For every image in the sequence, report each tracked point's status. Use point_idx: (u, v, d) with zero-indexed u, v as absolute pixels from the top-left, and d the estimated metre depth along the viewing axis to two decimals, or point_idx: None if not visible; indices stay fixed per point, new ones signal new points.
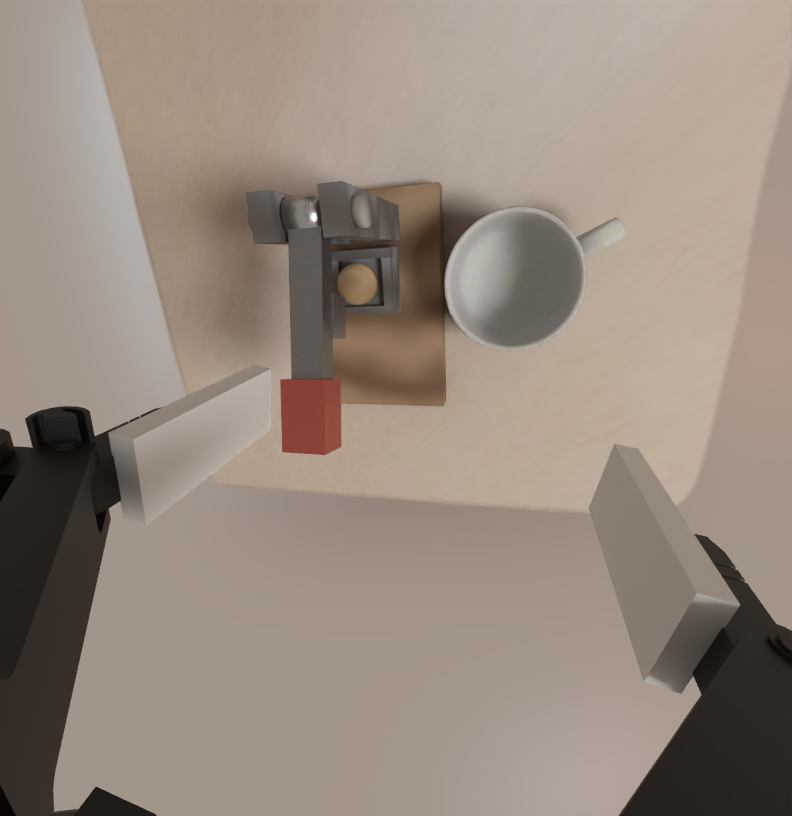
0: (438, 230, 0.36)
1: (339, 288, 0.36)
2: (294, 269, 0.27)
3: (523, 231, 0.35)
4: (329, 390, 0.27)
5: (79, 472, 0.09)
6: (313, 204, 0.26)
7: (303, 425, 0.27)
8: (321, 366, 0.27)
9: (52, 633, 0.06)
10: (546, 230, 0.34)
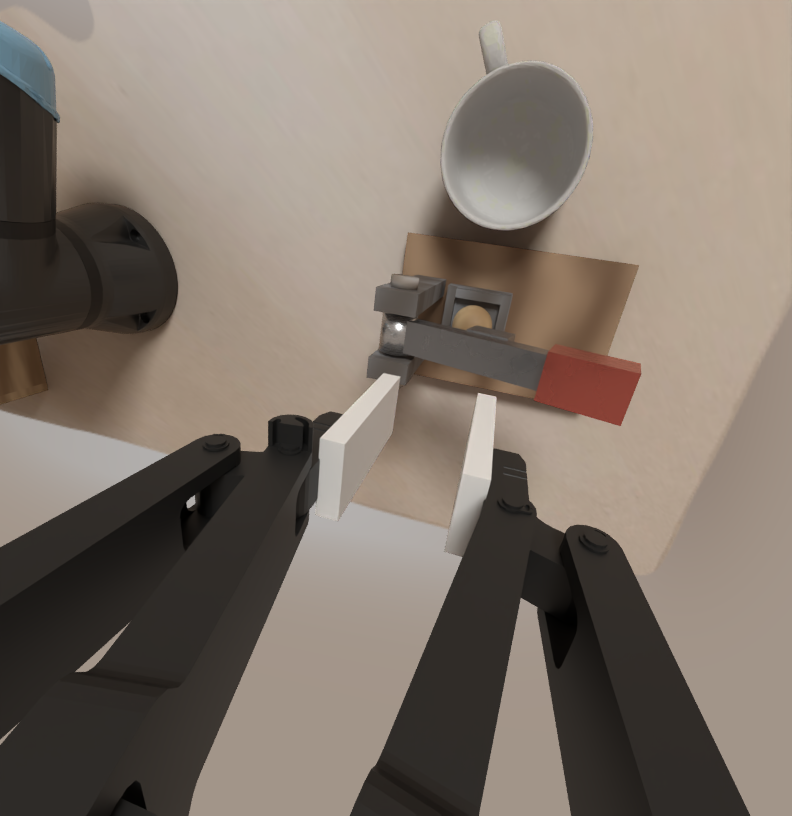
0: (447, 239, 0.38)
1: None
2: (435, 356, 0.28)
3: (470, 149, 0.35)
4: (563, 352, 0.24)
5: (292, 479, 0.10)
6: (388, 322, 0.29)
7: (594, 389, 0.23)
8: (533, 354, 0.25)
9: (230, 637, 0.07)
10: (474, 121, 0.34)
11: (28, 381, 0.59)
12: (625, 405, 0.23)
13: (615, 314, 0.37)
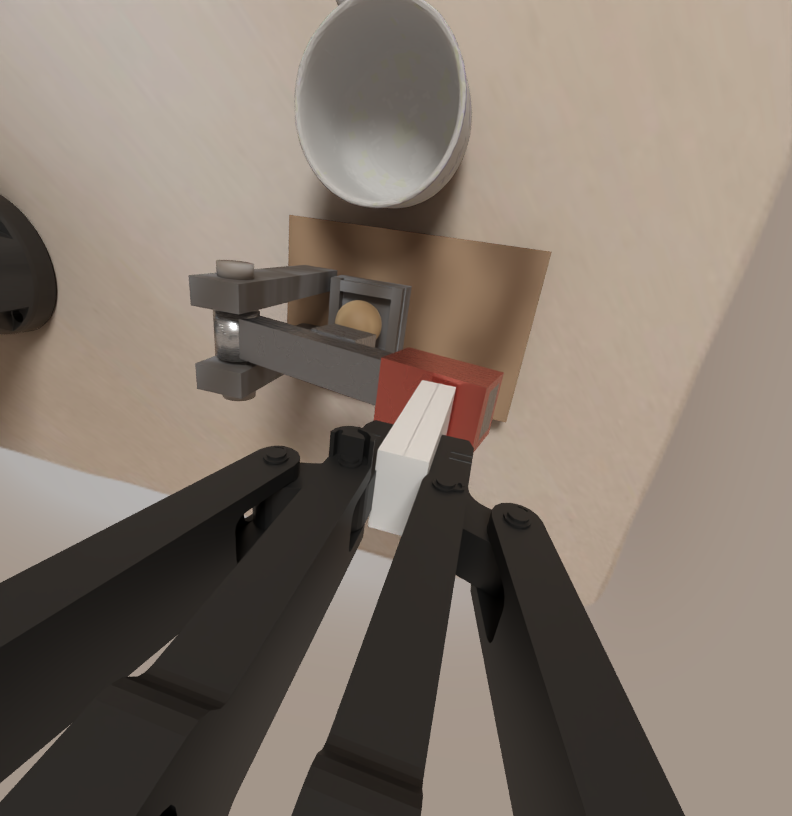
0: (333, 222, 0.32)
1: None
2: (272, 363, 0.23)
3: (350, 114, 0.30)
4: (404, 358, 0.19)
5: (349, 494, 0.09)
6: (216, 320, 0.23)
7: None
8: (373, 360, 0.19)
9: (276, 655, 0.07)
10: (348, 78, 0.28)
11: None
12: (473, 429, 0.17)
13: (528, 310, 0.31)
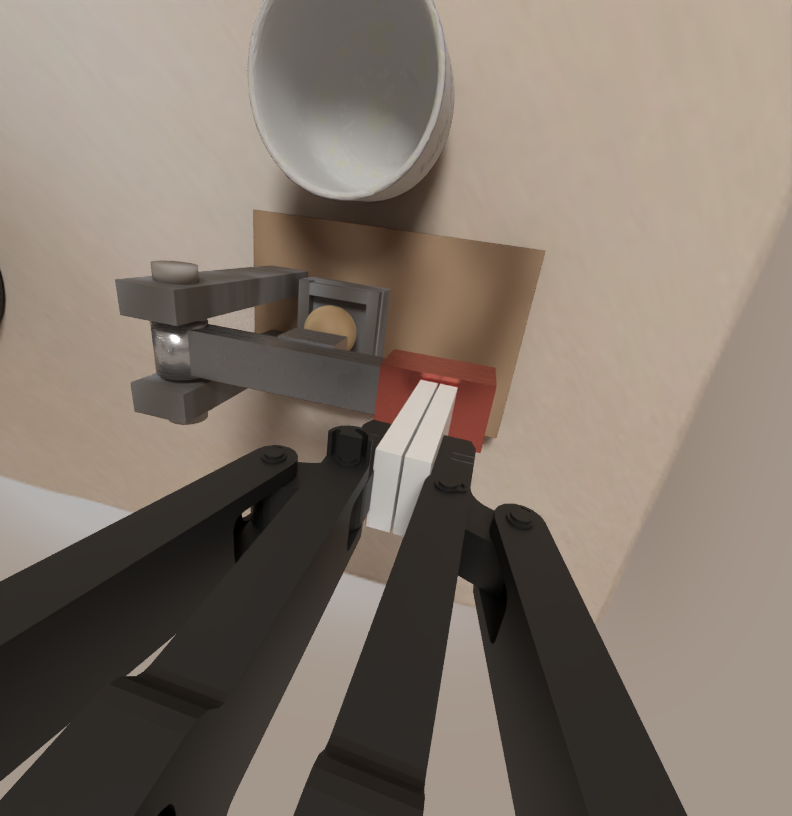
0: (302, 217, 0.29)
1: None
2: (237, 378, 0.20)
3: (318, 94, 0.26)
4: (401, 362, 0.18)
5: (347, 493, 0.09)
6: (158, 333, 0.19)
7: None
8: (365, 367, 0.18)
9: (274, 655, 0.07)
10: (313, 52, 0.24)
11: None
12: (483, 427, 0.17)
13: (520, 316, 0.28)
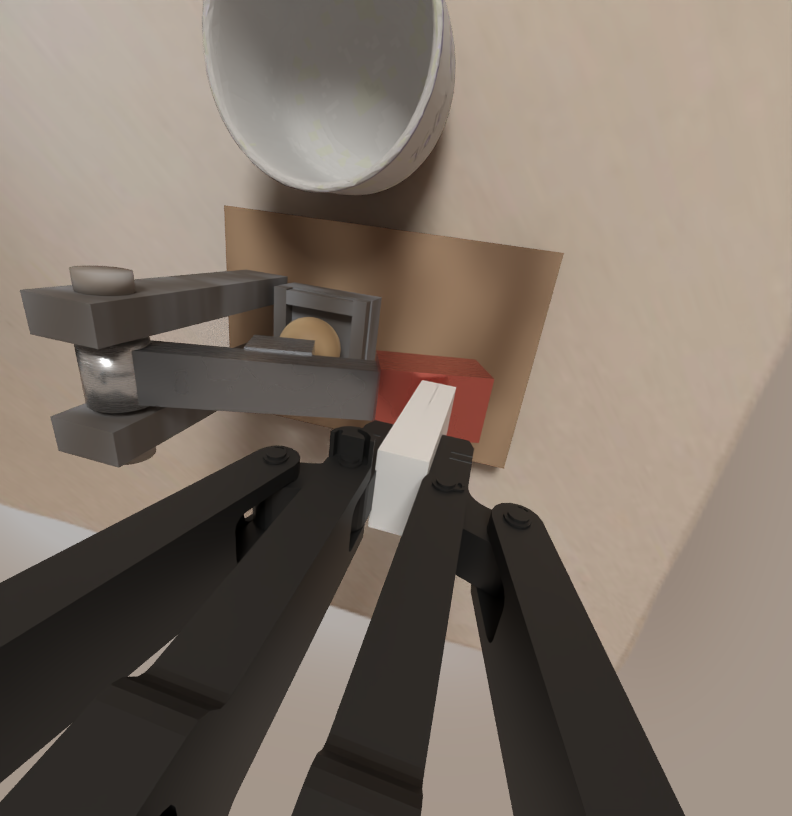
0: (279, 214, 0.25)
1: None
2: (203, 401, 0.17)
3: (296, 69, 0.22)
4: (396, 364, 0.18)
5: (349, 494, 0.09)
6: (91, 358, 0.16)
7: None
8: (357, 373, 0.18)
9: (276, 655, 0.07)
10: (288, 17, 0.21)
11: None
12: (481, 418, 0.18)
13: (532, 330, 0.24)
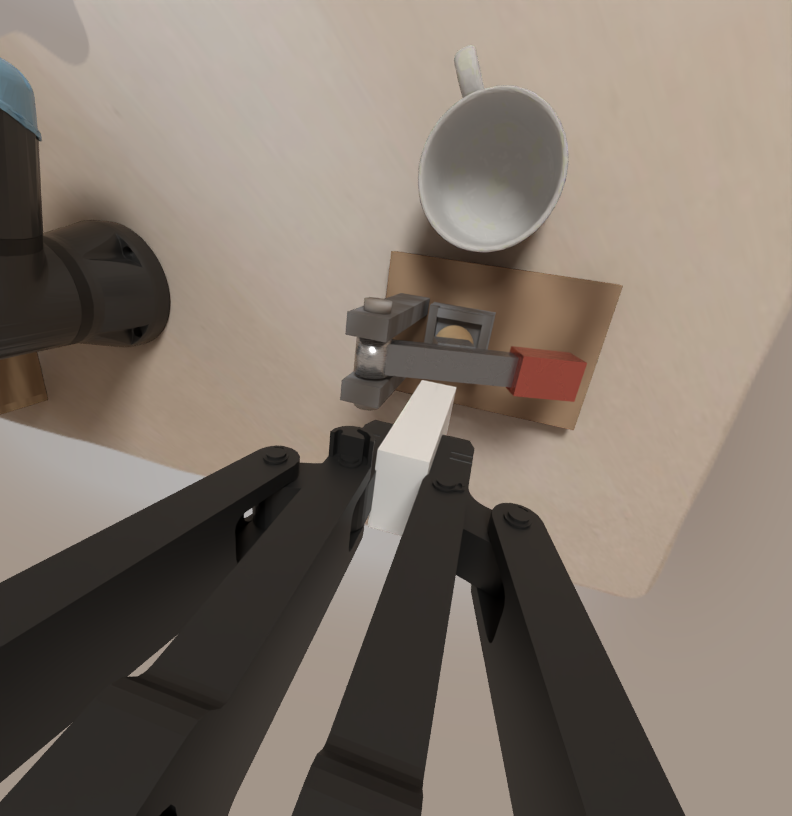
0: (430, 258, 0.38)
1: None
2: (419, 373, 0.30)
3: (451, 170, 0.35)
4: (529, 353, 0.30)
5: (349, 494, 0.09)
6: (371, 348, 0.29)
7: (557, 379, 0.30)
8: (506, 358, 0.30)
9: (276, 655, 0.07)
10: (454, 143, 0.34)
11: (28, 391, 0.60)
12: (577, 386, 0.31)
13: (599, 335, 0.36)
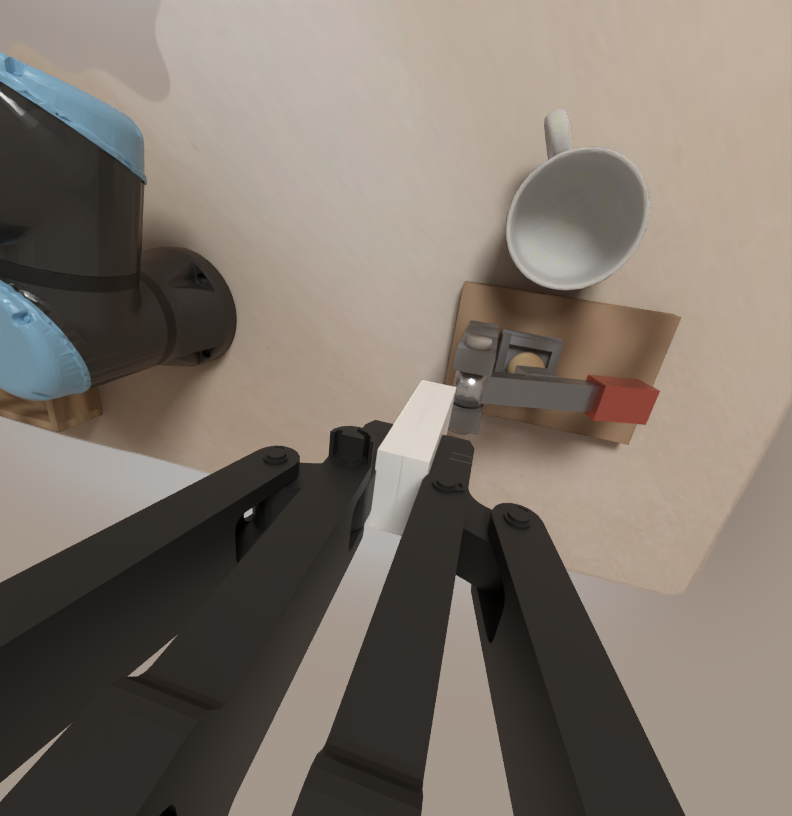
0: (500, 289, 0.41)
1: None
2: (511, 401, 0.34)
3: (525, 210, 0.39)
4: (608, 382, 0.34)
5: (349, 494, 0.09)
6: (473, 380, 0.32)
7: (632, 405, 0.34)
8: (588, 387, 0.34)
9: (276, 655, 0.07)
10: (532, 188, 0.37)
11: (86, 407, 0.62)
12: (649, 411, 0.35)
13: (657, 360, 0.40)
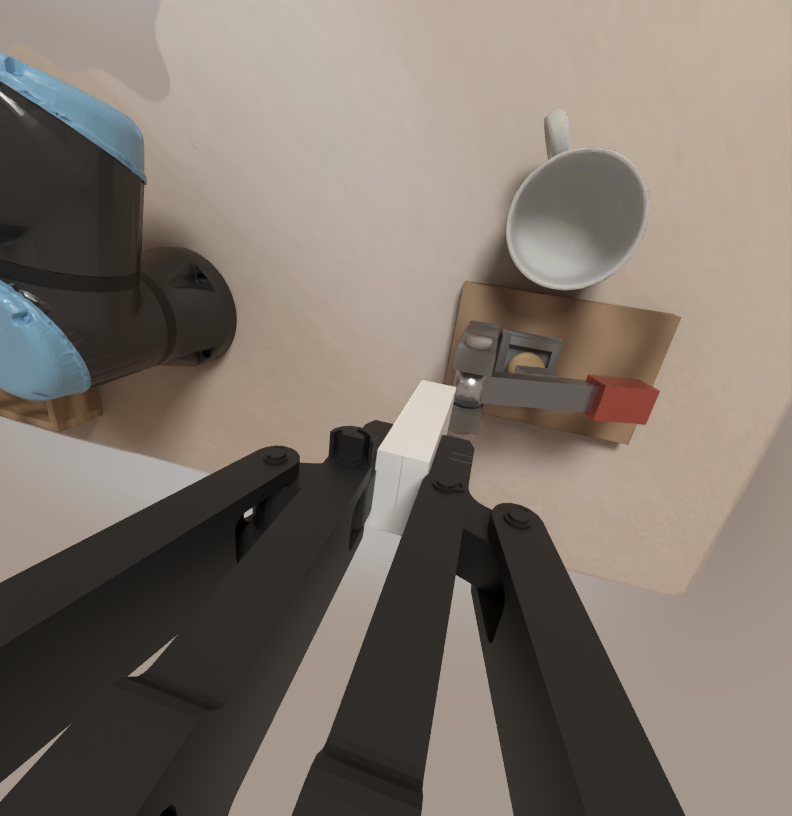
0: (500, 289, 0.41)
1: None
2: (511, 401, 0.34)
3: (525, 210, 0.39)
4: (608, 382, 0.34)
5: (349, 494, 0.09)
6: (473, 380, 0.32)
7: (632, 405, 0.34)
8: (588, 387, 0.34)
9: (276, 655, 0.07)
10: (532, 188, 0.37)
11: (86, 407, 0.62)
12: (649, 411, 0.35)
13: (657, 360, 0.40)
